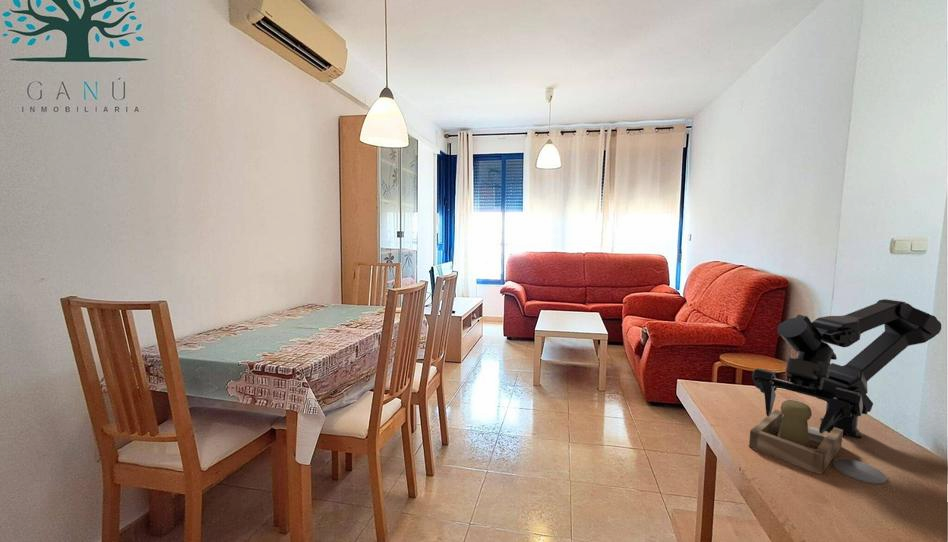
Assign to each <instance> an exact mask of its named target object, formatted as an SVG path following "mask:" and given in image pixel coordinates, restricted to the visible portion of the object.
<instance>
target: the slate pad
mask: <svg viewBox="0 0 948 542" xmlns="http://www.w3.org/2000/svg"><path fill="white" fill-rule="evenodd" d="M832 462H833V463H832V465H833V467H834V469H836V470H837V471H838V472H839V473H841V474H843V475H845V476H846V477H849V478H850V479H853V480H856V481H858V482H862V483H867V484H872V485H883V484H885V483H887V476H886V475H885V474H884V472H883V471H881V470H879V469H877V468H876V467H874V466H871V465H870V464H867V463H865V462H862V461H858V460H854V459H849V458H844V457H843V458H835V459H834V460H833V461H832Z"/></svg>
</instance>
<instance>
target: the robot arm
mask: <svg viewBox="0 0 948 542" xmlns="http://www.w3.org/2000/svg"><path fill="white" fill-rule="evenodd" d="M880 326H883V327H884V331H883V332H882V333H881V334H880V335H878V337H876V338H875V339H874V340H873V341H872V342H870V343H869V344H868V345H867V346H865V348H863V349H862V350H861V351H860V352H859V353H858V354H856V355H855V356H854V357H853V358H851V360H849V361H848V362H847V363H846V364H845V365H840V364H837V363H834V362H831V361H833V360H837V358H838V357H837V354H836V353H835V352H834V349H833V348H832V347H831V345H833V346H837V347H841V348H848V347H850V346H852V345H853V344H855V343H857V342H858V341H860V340H861V335H862V334H864V333H865V332H868V331H870V330H872V329H876V328H877V327H880ZM941 330H942V323H941V321H939V320H938V318H937V316H935V315H932V314H930V313H928V312H925V311H923V310H921V309H919V308H917V307H916V308H915V307H914V306H913V305H912V304H910V303H907V302H906V301H901V300H894V299H886V298H884V299H878V301H876V303H873V304H870V305H868V306H865V307H863V308H860V309H857V310H856V311H853V312H850V313H847V314H845V315H828V316H822V317H818V318H816V319H814V320H813V321H811V319H810V318H809V317H808V315H802V314H797V315H796V316H795V317H792V318H787V319H786V320H784V321H781V322H780V323H779V325H778V326H777V333H778V334H779V335H780V336H781V338H782V339H783V340H784V341H785V342H786V344H788V345H789V346H790V348H792V350H793V351H795V352H798V353H797V357H796V358H794V357H788V358H787V363H786V366H785V367H786V368H785V372H786V378H787V379H789V380H784V379H781V378H777V376H776V373H775V371H772V370H771V371H770V370H767V369H762V368H755V369H754V370H753V371H752V374H751V376H750V377H751V379H752V382H753V384H754V386H755V388H757V389H758V390H760V392H761V393H763V394H764V395H763V396H764V403H765V414H766V417H767V416H768V417H769V416H770V414H771V413H772V412H773V407H774V404H775V401H776V396H777V393H776V391H777V389H778V388H779V389H784V390H787V391H790V392H794V393H797V394H802V395H805V396H810V397H813V398H816V399H818V400H822V401H824V402H826V406H825V414H824V416H823V417H822V418H820V420H819V421H820V426H819V428H818V429H819V432H820V433H821V434H822V433H823V432H824V433H825V432H826V431H827V432H831V430H832V429H833V428H834V427H835V428H839V429H842V430H843V435H846V436H850V437H855V438H860V439H861V438H862V436H863V435H862V434H861V432H860V431H859V429H858V421H859V417H861V416H862V415H868V413H871V411H872V408H873V406H874V403H873V401H872V400H871V399H870V398H869V396H868V395H867V394H868V382H869V380H870V379H872V378H873V377H874V376H875V375H877V374H878V373H879V372H880V371H881V370H882V369H883V368H884V367H885V366H887V365H888V364H889V363H890V362H892V361H893V360H894V359H895V358H896V357H897V356H898V355H899V354H901V353H902V352H903V351H904V350H905V349H907V348H908V347H909V346H914V345H919V344H925V343H927V342H928V341H930V340H931V339H933V338H935V337H936V336H937V335H938V334H940V332H941Z"/></svg>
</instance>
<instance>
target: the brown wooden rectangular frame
mask: <svg viewBox="0 0 948 542" xmlns="http://www.w3.org/2000/svg"><path fill="white" fill-rule="evenodd" d="M782 418H783V413H782V412H781V410H780V409H774V410H772V412H771V414H770V416H769V417H768V416H767V415H766V417H765V418H764V419H762V420H761V421H760V422H759V423H757V424H756V425H754V426H753V427H752V428H751V429H750V432H749V442H748V443H749V444H748V447H749V448H751V449H753V450H756V451H759V452H761V453H763V454H766V455H768V456H771V457H773V458H774V457H775V458H776V459H779V460H782V461H784V462H787V463H790V464H792V465H795V466H797V467H800V468H803V469H805V470H808V471H810V472H812V471H813V473H815V472H816V473H815V474H817V475H820V474H822V475H823V473H824V472H825V470H826V469H827V468H828V466H829V465H830V464H831V462H833V461H832V460H833V459H834V458H835V456H836V455H837V454H838V452H839V450H840V449H841V448H842V445H843V444H842V443H843V435H844V434H843V430H842V429H839V428H835V427H834V428H833V429H832V430H831V431H829V433H828V434H827V435H826V436H825V437H826V438H825V439H824V440H823V441H822V443H821V444H820V445H819V446H818V447H816V449H814V448H811V447H809V448H808V447H805V446H802V445H800V444H797V443H794V442H791V441H788V440H785V439H782V438H780V437H778V435H777V436H776V435H775V434H776V433H777V432H779V429H780V426H781V422H782Z"/></svg>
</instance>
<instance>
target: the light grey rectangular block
mask: <svg viewBox="0 0 948 542" xmlns="http://www.w3.org/2000/svg"><path fill="white" fill-rule="evenodd" d="M819 429H820V428H816V427H812V426H809V425H808V435H809V446H811V447H812V446H813V447H815V448H818V446H819V445H820V444H821V443H822V441H823V440H824V439H825V438H826V437H827V436H824V433H825V432H823V433H822V434H821V433H820V432H819Z"/></svg>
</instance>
